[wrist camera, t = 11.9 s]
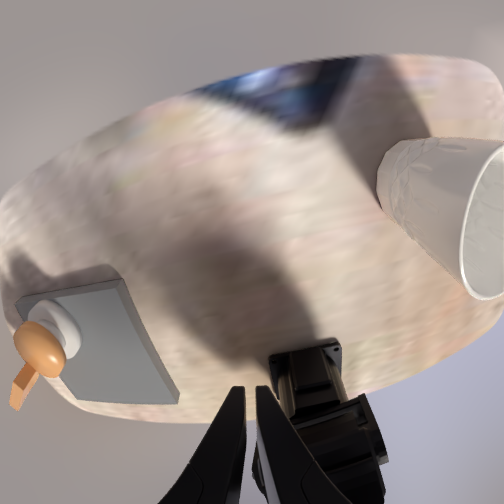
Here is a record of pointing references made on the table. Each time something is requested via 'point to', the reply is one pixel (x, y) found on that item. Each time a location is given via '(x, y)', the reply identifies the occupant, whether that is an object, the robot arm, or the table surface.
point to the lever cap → (35, 359)
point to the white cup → (450, 205)
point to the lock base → (102, 344)
